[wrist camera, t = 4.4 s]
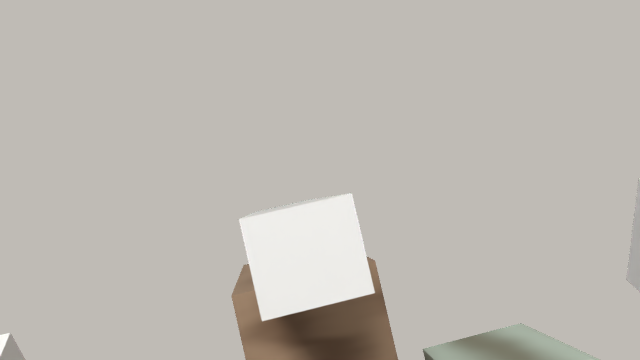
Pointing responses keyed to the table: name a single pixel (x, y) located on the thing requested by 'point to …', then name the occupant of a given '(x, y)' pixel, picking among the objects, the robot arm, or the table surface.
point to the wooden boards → (372, 333)
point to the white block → (306, 255)
